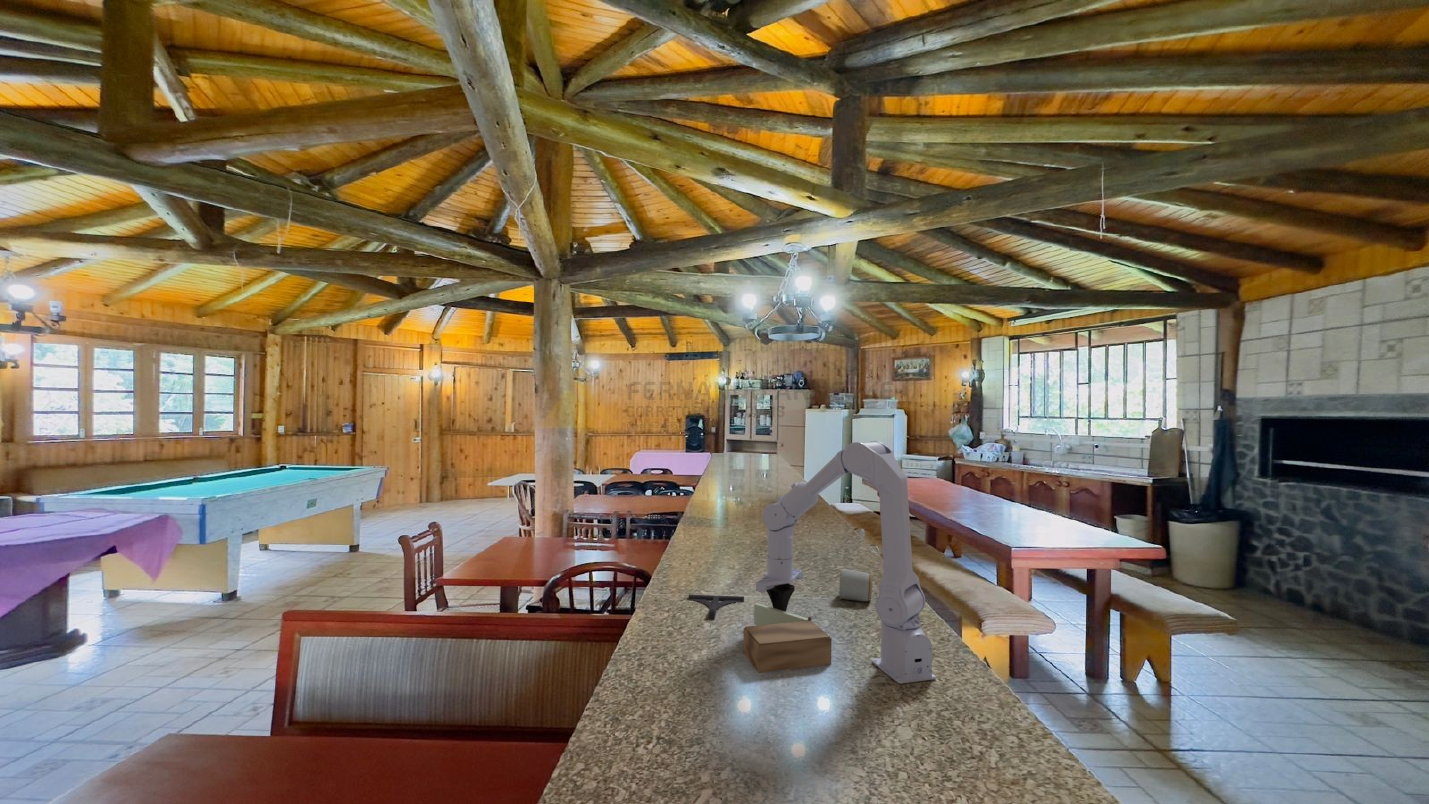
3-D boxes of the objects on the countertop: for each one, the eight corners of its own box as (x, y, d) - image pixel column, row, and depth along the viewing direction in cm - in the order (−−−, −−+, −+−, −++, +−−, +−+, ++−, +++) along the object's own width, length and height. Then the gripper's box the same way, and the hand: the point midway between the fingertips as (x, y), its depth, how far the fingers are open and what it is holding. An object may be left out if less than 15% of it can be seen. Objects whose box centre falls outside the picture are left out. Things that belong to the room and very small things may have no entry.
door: (811, 639, 119) (811, 617, 119) (806, 642, 117) (806, 620, 118) (759, 621, 128) (759, 601, 128) (754, 624, 127) (754, 604, 127)
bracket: (681, 621, 131) (681, 609, 131) (689, 600, 146) (689, 589, 146) (742, 624, 130) (742, 612, 130) (744, 602, 145) (744, 591, 145)
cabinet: (832, 664, 108) (833, 635, 108) (758, 673, 104) (759, 642, 104) (810, 643, 118) (810, 616, 118) (741, 650, 114) (741, 622, 114)
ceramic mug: (871, 606, 141) (871, 575, 142) (838, 602, 144) (839, 572, 144) (872, 594, 151) (873, 565, 152) (842, 590, 154) (842, 562, 154)
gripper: (785, 548, 133) (784, 605, 133) (745, 559, 123) (744, 621, 122) (809, 553, 128) (809, 612, 128) (770, 565, 118) (770, 630, 117)
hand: (779, 617), depth 125 cm, fingers closed
